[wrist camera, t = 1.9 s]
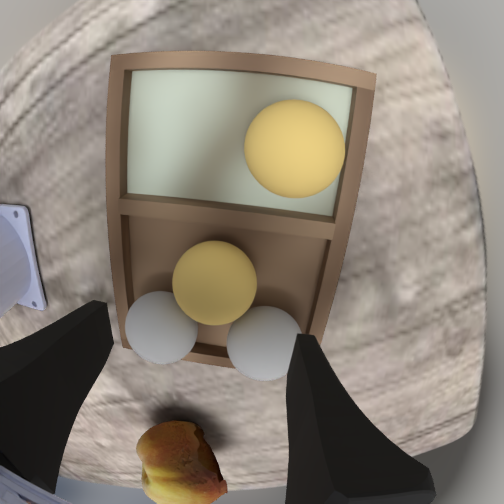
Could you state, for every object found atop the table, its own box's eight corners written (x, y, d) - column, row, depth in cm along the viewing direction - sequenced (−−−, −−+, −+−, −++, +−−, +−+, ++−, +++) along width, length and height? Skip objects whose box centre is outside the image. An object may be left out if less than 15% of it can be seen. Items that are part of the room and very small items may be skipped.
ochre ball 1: (184, 290, 18) (163, 334, 14) (185, 224, 16) (159, 258, 13) (255, 300, 18) (248, 348, 14) (263, 233, 16) (259, 271, 13)
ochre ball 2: (244, 180, 15) (233, 203, 11) (253, 96, 13) (244, 90, 10) (328, 191, 15) (344, 218, 11) (341, 108, 13) (363, 108, 10)
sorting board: (130, 333, 20) (121, 349, 19) (124, 58, 13) (109, 54, 12) (308, 360, 20) (310, 378, 19) (367, 77, 13) (378, 73, 11)
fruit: (180, 389, 22) (152, 478, 15) (255, 438, 25) (247, 518, 17) (131, 416, 25) (102, 487, 18) (199, 458, 27) (184, 525, 20)
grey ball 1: (142, 327, 19) (119, 370, 16) (138, 272, 18) (108, 312, 14) (203, 338, 19) (189, 385, 16) (205, 283, 18) (187, 327, 14)
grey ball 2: (229, 342, 19) (219, 390, 16) (234, 287, 18) (223, 332, 14) (294, 350, 19) (295, 399, 16) (307, 296, 18) (312, 343, 14)
